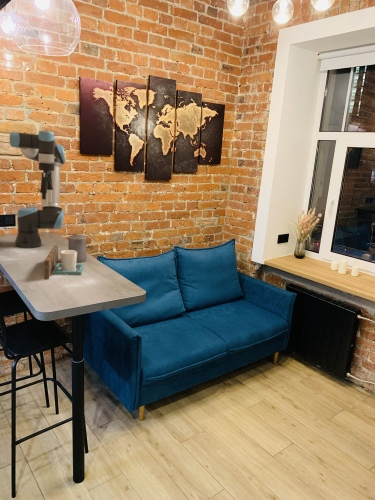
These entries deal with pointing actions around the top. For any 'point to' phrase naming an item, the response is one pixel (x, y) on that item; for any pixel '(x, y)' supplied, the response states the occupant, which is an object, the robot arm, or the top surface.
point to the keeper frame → (68, 271)
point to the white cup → (68, 260)
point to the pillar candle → (78, 246)
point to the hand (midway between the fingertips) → (46, 203)
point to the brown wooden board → (50, 262)
